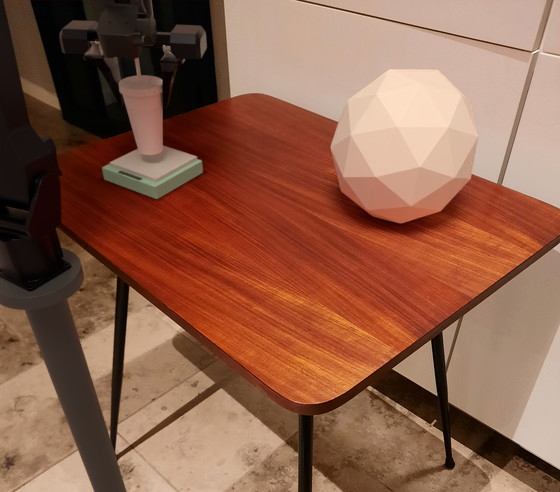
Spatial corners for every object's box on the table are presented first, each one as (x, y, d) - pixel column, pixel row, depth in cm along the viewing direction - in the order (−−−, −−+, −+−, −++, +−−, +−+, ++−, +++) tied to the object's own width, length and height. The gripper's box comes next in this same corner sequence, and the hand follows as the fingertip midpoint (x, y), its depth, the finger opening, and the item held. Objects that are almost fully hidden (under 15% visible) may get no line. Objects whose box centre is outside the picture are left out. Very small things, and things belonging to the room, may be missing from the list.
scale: (156, 199, 84) (154, 183, 82) (104, 179, 88) (100, 163, 86) (203, 172, 90) (201, 156, 88) (152, 155, 94) (149, 140, 92)
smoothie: (164, 138, 89) (152, 39, 79) (177, 154, 85) (165, 51, 75) (124, 145, 87) (106, 44, 77) (135, 161, 83) (118, 57, 73)
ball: (419, 251, 88) (532, 172, 72) (324, 243, 75) (436, 146, 60) (381, 149, 92) (481, 55, 77) (286, 126, 80) (381, 8, 65)
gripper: (28, -13, 65) (62, 124, 76) (188, -7, 64) (199, 130, 75) (60, -31, 73) (87, 96, 84) (203, -25, 72) (210, 101, 83)
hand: (144, 106), depth 81 cm, fingers closed on smoothie, 6 cm apart
